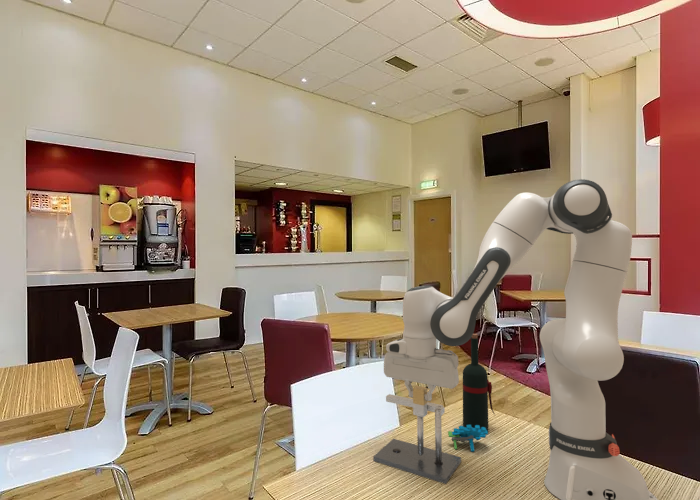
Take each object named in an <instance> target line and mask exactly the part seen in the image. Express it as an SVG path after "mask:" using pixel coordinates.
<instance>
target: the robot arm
mask: <svg viewBox="0 0 700 500" xmlns="http://www.w3.org/2000/svg"><path fill="white" fill-rule="evenodd" d="M612 217H613V213H612V210H611V208H610V205H609V202H608V198H607V194H606V193H605V191H604V189H603V188H602V187H601V186H600V185H599V184H598V183H597V182H595V181H593V180H589V179H585V178H584V179H582V178H580V179H573V180H571V181H568V182H565V183H564V184H562V185H561V186H560V187H559V188H558V189H557V190H556V192H555V193H554V194H553V195H551V196H549V197H543V196H541V195H539V194H536V193H534V192H525V191H524V192H520V193H518V194H517V195H515V196H514V197H513V198H512V199H511V200H510V201H509V202H508V203H507V204H506V205H505V206H504V207H503V209H502V210H501V211H500V212H499V213H498V214H497V215H496V217H495V219H494V220H493V221H492V223H491V224H490V225H489V227H488V229H487V230H486V233H485V234H484V236H483V238H482V240H481V243H480V245H479V249H478V251H479V252H478V257H477V260H476V263H475V265H474V268H473V270H472V271H471V273H470V274H469V276H468V277H467V279H466V280H465V281H464V283H463V285H462V286H461V287H460V289H459V290H458V292H457V293H456V294H455V296H454V297H452V296H449V295H447V294H445V293H442V292H441V291H439V290H437V289H436V288H435V287H434V286H432V285H420V286H414V287H412V288H411V287H410V288H409V289H408V290H406V292H405V293H404V297H403V301H402V302H403V303H402V321H403V325H404V326H403V327H404V328H403V332H402V338H399V339H396V340H393V341H390V342H388V343H386V345H385V350H386V351H387V352H385V355H384V358H383V374H384V375H385V377H387V378H389V379H391V378H392V379H396V380H402V381H404V385H405V387H406V389H407V391H408V398H410V399H413V388H414V387H413V384H412V383H418V384H423V385H427V389H429V391H427V392H426V393H425V394H424V397H425V398H424V400H426V401H427V402H431V401H432V400H433V392H434V390H435V389H436V388H437V387H441V388H445V389H451V390H453V389H454V388H456V387H457V386H458V384H459V383H460V381H459V380H460V379H459V370H458V367H459V356H458V355H457V354H456V353H455V352H454V351H452V350H449V349H447V350H446V349H441V348H437V341H438V342H440V343H441V344H443V345H446V346H449V347H459V346H462V345H464V344H466V343H467V342H468V341H470V340H471V338H472V335H473V334H475V333H474V332H475V328H476V322H477V316H478V314H479V312H480V311H481V309H482V307H483V306H484V304H485V303H486V301H487V300H488V298H489V297H490V295H491V294H492V292H493V291H494V290H495V288H496V286H497V285H498V283H499V282H500V281H501V280H502V279H503V278H504V277H505V276H506V275H507V274H508V273H509V272H510V271H511V270H512V269H513V268H514V267H515V266H516V265H517V264H518V263H520V261H521V260H522V259H524V257H526V255H527V253H528V252H529V251H530V250H531V248H532V247H533V245H534V244H535V243H536V241H537V240H538V238H539V237H540V236H541V234H542V233H543V232H544V231H546V230H548V231H553V232H557V233H560V234H566V235H569V234H570V235H572V234H573V235H574V236H575V240H576V246H575V247H576V248H575V252H574V254H573V257H572V262H571V266H570V269H569V271H568V272H569V273H568V276H567V280H566V283H565V287H564V292H563V296H564V298H565V318H557V319H551V320H549V321H547V322H546V323H545V324H543V326H542V328H541V329H540V332H539V340H540V344H541V346H542V349H543V354H544V361H545V363H544V364H545V368H546V369H545V370H546V374H547V379H548V383H549V389H550V390H549V391H550V392H549V393H550V421H551V422H550V423H549V428H548V445H549V450H550V452H549V462H548V466H547V471H546V475H545V476H544V481H543V483H544V486H545V488H546V489H547V490H548V491H549V492H550V494H552V495H553V496H555V497H556V498H557V499H559V500H659V499H658V498H657V496H655V494H654V493H652V492H651V491H650V490H649V488H648V484H647V482H646V480H645V478H644V476H643V474H642V472H641V471H640V470H639V469H638V468H637V467H635V465H633V463H630V462H629V461H628V460H627V459H626V458H624V457H623V456H622V455H621V454H620V452H621V451H620V447H619V445H618V444H617V443H618V442H617V440H616V437H615V435H614V433H612V434H611V435H610V434H609V433H607V432H606V431H607V430H606V429H607V428H606V425H607V424H606V400H605V397H604V394H603V392H602V389H601V387H600V385H599V381H608V380H610V379H612V378H614V377H616V376H618V374H619V373H620V372H621V370H622V369H623V365H624V361H625V358H624V357H625V355H624V352H623V350H622V348H621V345H620V342H619V341H620V340H619V329H618V324H619V323H618V319H619V315H618V314H619V304H620V300H621V296H622V293H623V288H624V285H625V281H626V277H627V274H628V270H629V267H630V262H631V256H632V254H631V253H632V249H633V248H632V246H633V233H632V231H631V229H630V228H629V227H628V226H627V225H625V224H624V223H622V222H619V221H618V220H617V221H616V220H612Z"/></svg>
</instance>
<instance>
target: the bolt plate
mask: <svg viewBox="0 0 700 500" xmlns="http://www.w3.org/2000/svg"><path fill="white" fill-rule="evenodd" d="M373 462H376V463H379V464H382V465H385V466H389V467H392V468H394V469H397V470H401V471H404V472H407V473H411V474H413V475H416V476H420V477H423V478H426V479H429V480H432V481H435V482H439V483H441V484H445V485H447V483H448V481H449V480H450V478H451V477H452V475H454V473H455V471H456V470H457V469H458V467H459V466H460V464H461V462H462V457H461V456H457V455H454V454H451V453H447V452H443V451H442V464H440V465H438V464H436V463H435V449H432V448H428V447H427V446H426V447H425V446H424V454H423V455H422V456H420V455H419V454H418V445H417V444H414V443H411V442H407V441H405V440H404V441H403V440H400V439H396V438H392V439H391V440H390V441H389V442H388V443H387V444H386V445H385V446H383V448H381V449H380V450H379V451H377V452H376V453H375V455H373Z"/></svg>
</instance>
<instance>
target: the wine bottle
mask: <svg viewBox="0 0 700 500" xmlns="http://www.w3.org/2000/svg"><path fill="white" fill-rule="evenodd" d="M478 337H479V334H477V333H473V335H472V337H471V338H470V360H471V361H470V363H469V364H467V365H465V367H463V370H462V426H463V427H466V428H467V426H466V425H471V427H472V428H475V425H479V426H480V429H481V427H485V428H486V430H487V431H488V432H489V408H490V410H491V411H492V413H493V415H494V416H496V414H495V412H494V410H493V403H492V391H493V390H492V389H493V384H492V381H489V379H488V372H487V370H486V369H485V367H484V366H482V365H481V364H479V338H478Z"/></svg>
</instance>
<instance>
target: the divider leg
mask: <svg viewBox="0 0 700 500" xmlns="http://www.w3.org/2000/svg"><path fill="white" fill-rule="evenodd" d="M426 392H428V387H425V386H421V385H416V386H414V387H413V398H412V399H413V407H412V410H413V411H412V413H413V416H416V417H417V422H416V423H417V424H416V425H417V427H416V428H417V433H416V434H417V435H416V436H417V438H416V439H417V442H416V443H417V444H416V445H418V454H419V455H420V456H422V455H423V454H424V447H425V445H424V439H425V438H424V418H425V417H426V416H427V415H428V411H427V402H428V401H426V400H424V398H425V397H424V394H425V393H426Z"/></svg>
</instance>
